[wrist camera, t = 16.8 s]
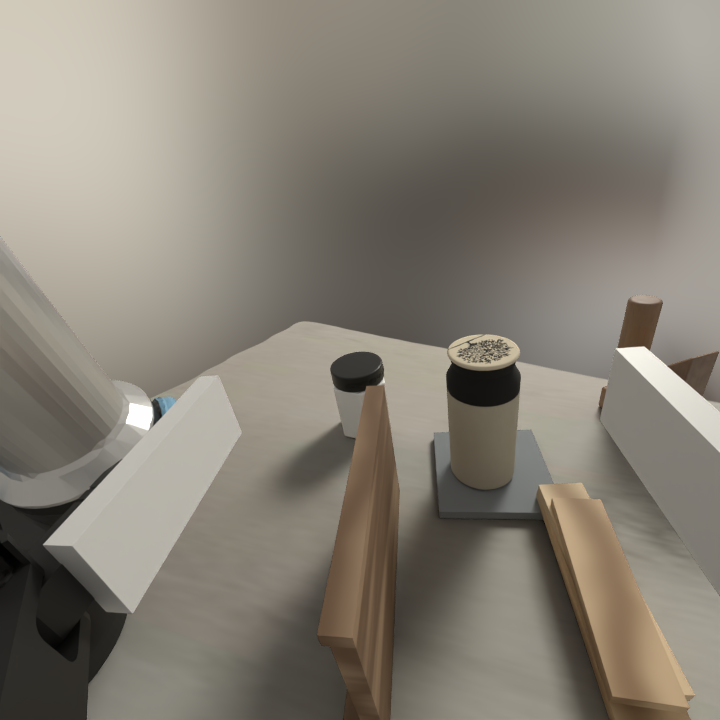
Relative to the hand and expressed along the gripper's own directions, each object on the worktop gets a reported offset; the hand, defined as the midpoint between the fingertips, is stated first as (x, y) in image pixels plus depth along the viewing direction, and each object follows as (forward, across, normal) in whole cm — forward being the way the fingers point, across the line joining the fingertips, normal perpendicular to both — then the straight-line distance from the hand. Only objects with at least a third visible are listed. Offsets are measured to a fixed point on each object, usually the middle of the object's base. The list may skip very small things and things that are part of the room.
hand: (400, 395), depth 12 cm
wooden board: (+11, -5, -32) cm, 34 cm away
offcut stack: (+11, +15, -31) cm, 36 cm away
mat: (+26, +8, -32) cm, 42 cm away
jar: (+37, -10, -32) cm, 50 cm away
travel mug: (+26, +7, -31) cm, 41 cm away
